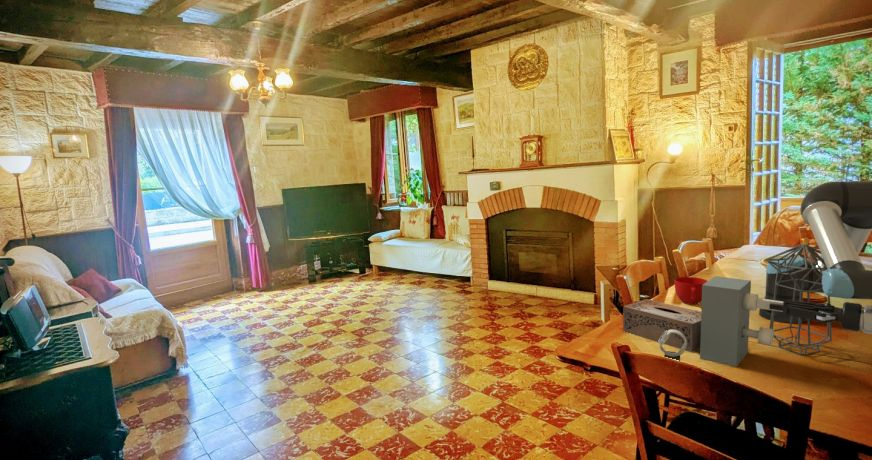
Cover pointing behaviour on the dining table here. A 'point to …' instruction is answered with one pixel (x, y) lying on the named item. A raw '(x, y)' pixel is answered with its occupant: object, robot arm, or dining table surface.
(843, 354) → the dining table surface
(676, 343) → the tissue box cover
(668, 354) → the watch
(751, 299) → the upper knob
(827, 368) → the dining table surface
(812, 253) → the geometric lantern
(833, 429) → the dining table surface
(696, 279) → the ceramic cup
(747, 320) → the knob mount
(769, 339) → the lower knob
